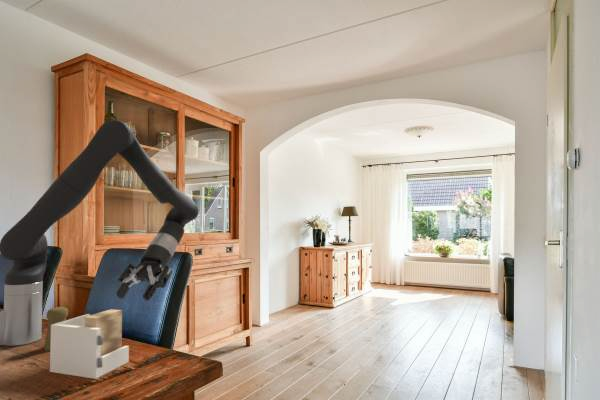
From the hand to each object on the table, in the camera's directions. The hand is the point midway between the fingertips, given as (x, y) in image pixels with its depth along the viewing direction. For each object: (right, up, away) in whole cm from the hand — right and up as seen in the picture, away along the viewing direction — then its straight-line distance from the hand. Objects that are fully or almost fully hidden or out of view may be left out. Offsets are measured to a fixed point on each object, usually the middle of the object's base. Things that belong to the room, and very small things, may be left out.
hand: (132, 298), depth 102 cm
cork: (-24, -15, +5) cm, 28 cm away
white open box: (-5, -14, -10) cm, 18 cm away
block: (-3, -13, -10) cm, 17 cm away
